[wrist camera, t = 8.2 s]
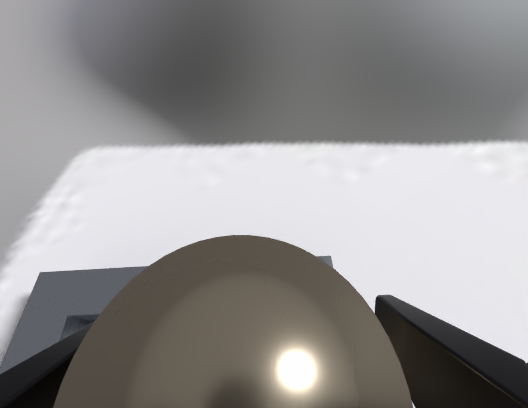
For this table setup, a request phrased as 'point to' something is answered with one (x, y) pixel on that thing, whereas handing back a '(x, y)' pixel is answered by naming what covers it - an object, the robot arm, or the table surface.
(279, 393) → the gold metal can
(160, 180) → the table surface
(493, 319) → the table surface
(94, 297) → the plate
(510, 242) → the table surface
